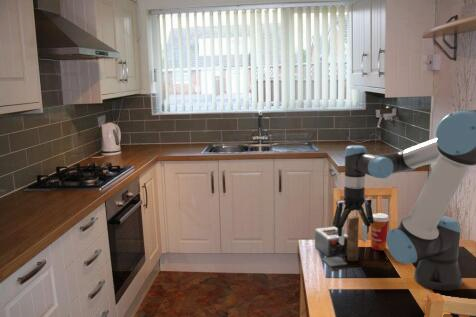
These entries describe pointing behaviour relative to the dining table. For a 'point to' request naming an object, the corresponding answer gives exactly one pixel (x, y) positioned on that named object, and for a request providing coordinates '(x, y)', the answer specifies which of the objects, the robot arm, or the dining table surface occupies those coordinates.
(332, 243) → the button
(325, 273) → the dining table surface
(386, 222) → the paper cup
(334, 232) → the box
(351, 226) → the stylus
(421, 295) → the dining table surface
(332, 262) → the mat
